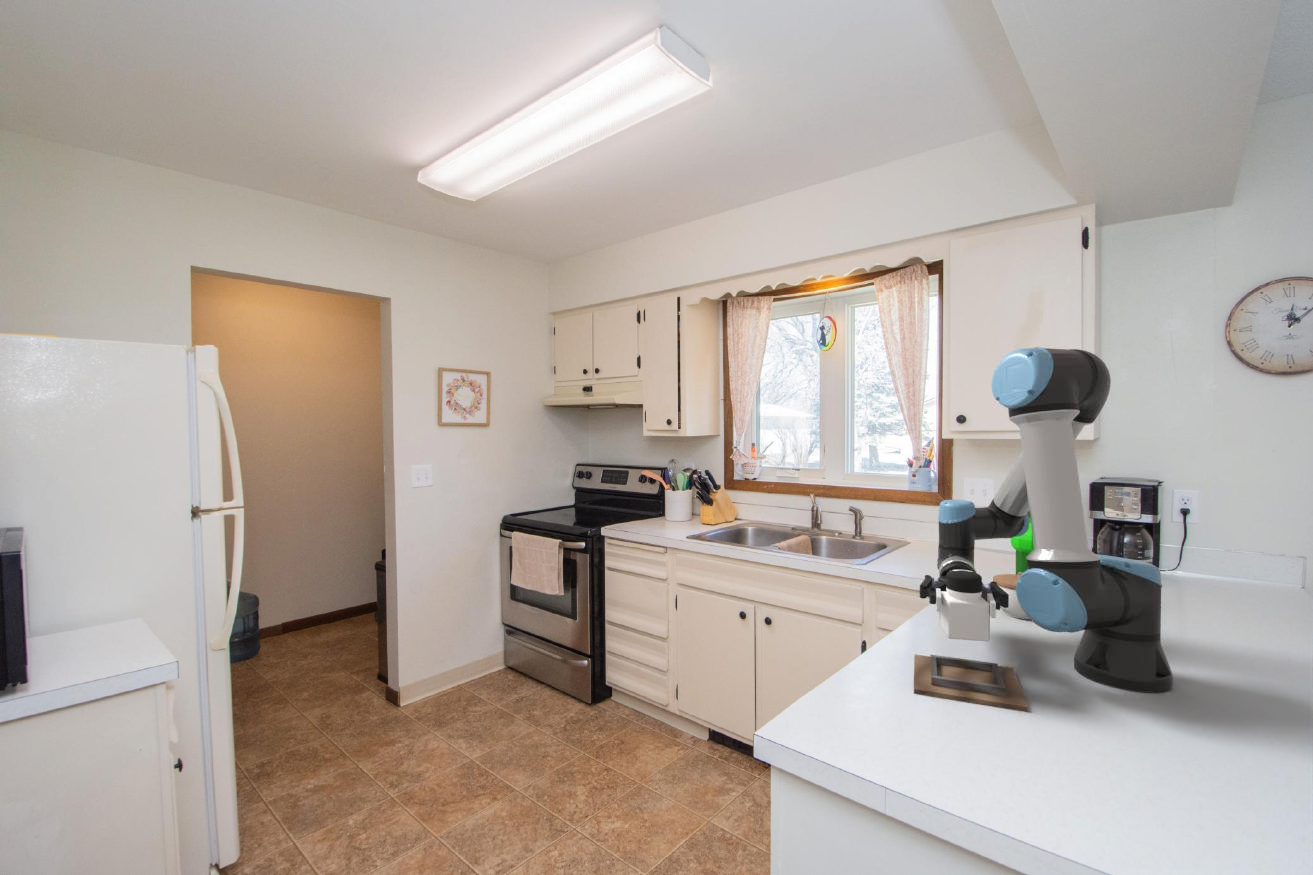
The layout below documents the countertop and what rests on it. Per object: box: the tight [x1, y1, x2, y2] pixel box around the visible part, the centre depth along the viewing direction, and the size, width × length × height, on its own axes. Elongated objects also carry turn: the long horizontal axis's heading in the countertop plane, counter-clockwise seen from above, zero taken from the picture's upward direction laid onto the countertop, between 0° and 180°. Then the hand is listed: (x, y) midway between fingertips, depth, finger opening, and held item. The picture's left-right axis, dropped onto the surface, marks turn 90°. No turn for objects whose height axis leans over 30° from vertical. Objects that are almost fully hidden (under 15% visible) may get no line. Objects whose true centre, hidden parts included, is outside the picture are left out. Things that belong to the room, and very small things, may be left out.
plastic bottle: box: [1010, 510, 1034, 575], centre depth 167 cm, size 10×10×25 cm
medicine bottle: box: [938, 570, 991, 642], centre depth 113 cm, size 7×7×12 cm
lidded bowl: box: [992, 572, 1031, 620], centre depth 153 cm, size 13×13×11 cm
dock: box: [913, 654, 1029, 713], centre depth 113 cm, size 18×18×2 cm
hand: (965, 607), depth 108 cm, fingers closed on medicine bottle, 8 cm apart
